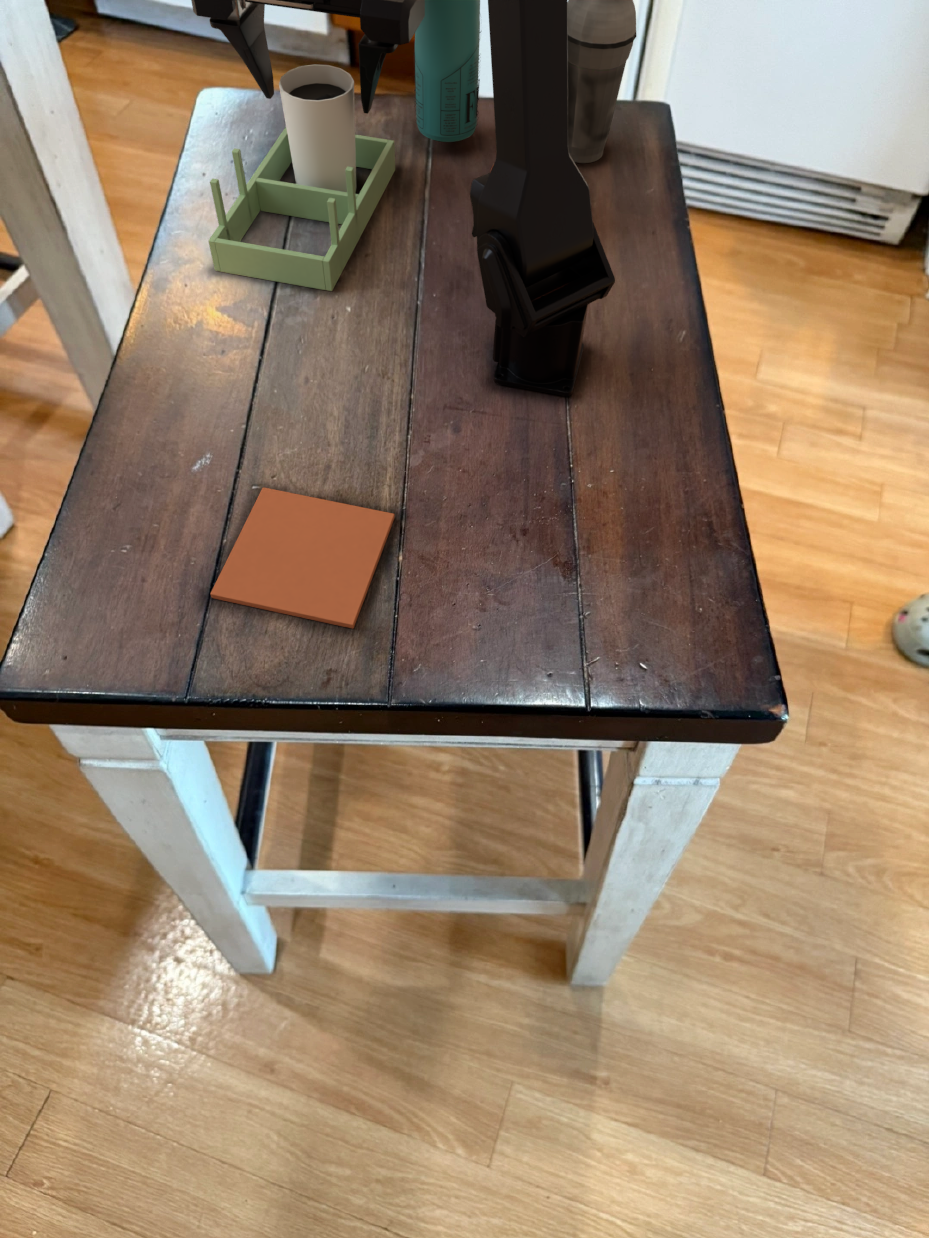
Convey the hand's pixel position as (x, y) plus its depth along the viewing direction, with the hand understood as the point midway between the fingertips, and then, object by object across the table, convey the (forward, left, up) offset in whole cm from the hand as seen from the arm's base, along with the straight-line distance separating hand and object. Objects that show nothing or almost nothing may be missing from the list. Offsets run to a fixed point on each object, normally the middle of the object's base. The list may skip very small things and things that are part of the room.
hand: (318, 104), depth 84 cm
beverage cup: (-23, -14, -8) cm, 28 cm away
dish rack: (0, +5, -8) cm, 10 cm away
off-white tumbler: (0, 0, -8) cm, 8 cm away
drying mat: (-13, +44, -8) cm, 47 cm away
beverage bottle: (-9, -12, -8) cm, 17 cm away
